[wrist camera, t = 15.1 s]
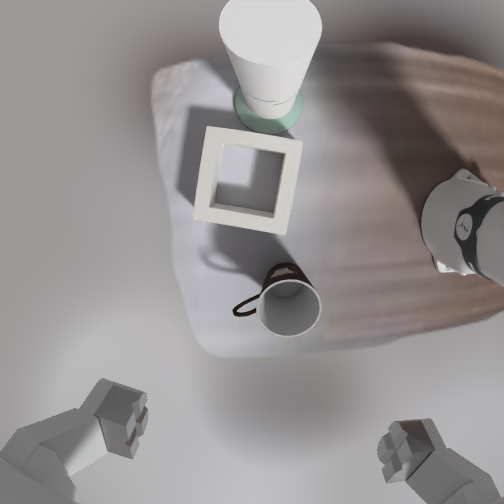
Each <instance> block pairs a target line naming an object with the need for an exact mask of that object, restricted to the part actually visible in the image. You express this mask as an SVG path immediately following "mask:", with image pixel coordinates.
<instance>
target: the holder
mask: <svg viewBox="0 0 504 504" xmlns="http://www.w3.org/2000/svg"><path fill="white" fill-rule="evenodd" d="M224 145H231V146H238V147H244V148H251V149H257V150H263V151H268V152H274V153H279V154H284V157H283V163H282V168H281V174H280V179H279V185H278V190H277V195H276V201H275V206H274V212H273V213H271V212H266V211H260V210H255V209H249V208H243V207H237V206H231V205H225V204H219V203H215V198H216V191H217V185H218V178H219V172H220V166H221V160H222V154H223V148H224ZM302 148H303V141H298V140H293V139H288V138H283V137H278V136H272V135H266V134H260V133H254V132H248V131H241V130H235V129H227V128H220V127H212V126H207V128H206V133H205V139H204V145H203V151H202V157H201V163H200V170H199V176H198V183H197V190H196V197H195V204H194V212H193V219H194V220H200V221H206V222H212V223H218V224H224V225H230V226H235V227H241V228H247V229H252V230H258V231H263V232H269V233H275V234H280V235H285V236H286V231H287V226H288V221H289V216H290V211H291V206H292V201H293V196H294V191H295V185H296V180H297V175H298V169H299V164H300V159H301V153H302Z"/></svg>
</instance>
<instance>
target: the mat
mask: <svg viewBox="0 0 504 504" xmlns="http://www.w3.org/2000/svg"><path fill="white" fill-rule="evenodd" d="M235 107H236V111H237V114H238V116H239V118H240V119H241V121H242V122H243V123H244V124H245V125H246V126H247V127H248V128H250V129H251V130H253V131H255V132H258V133H261V134H278V133H282V132H284V131H286V130H288V129H289V128H291V127H292V126H293V125H294V124H295V123H296V122H297V121H298V119H299V117H300V116H301V113H302V110H303V97H302V94H301V91H300V89H299V91H298V94H297V96H296V99H295V101H294V104H293V106H292V108H291V109H290V111H289V112H288V113H287V114H285V115H284V116H282V117H280V118H277V119H265V118H261V117H259V116H257V115H255V114H254V113H253V112H252V111H251V110H250V108H249V107H248V105H247V102H246V100H245V97H244V94H243V92H242V89H241V86H240V87H239V89H238V91H237V93H236V97H235Z"/></svg>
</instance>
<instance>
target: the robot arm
mask: <svg viewBox="0 0 504 504" xmlns="http://www.w3.org/2000/svg"><path fill="white" fill-rule="evenodd" d="M467 178H469V179H467ZM421 229H422V235H423V239H424V242H425V244H426V246H427V248H428V249H429V251H430V252H431V254H432V255H433V258H434V264H435V267H436V269H437V270H438V271H439V272H458V273H460V274H461V275H466V274H474V273H476V274H477V275H479V276H480V277H482V278H485V279H487V280H494V281H495V282H497V283H498V284H500V285H501V286H503V287H504V192H502V191H499V190H497V191H496V188H495V187H493V186H491V185H490V186H488V184H486V183H483V182H482V181H481V180H480V179H478V178H477V177H476V176H474V175H473V174H472V173H470V172H469V171H468V170H466V169H460V170H458V171H457V172H456V174H455V175H454V176H453V177H452V178H451V179H449V180H447V181H444V182H442V183H441V184H439V185H438V186H437V187H436V188H435V189H434V190H433V191H432V192H431V193H430V195H429V196H428V198H427V200H426V202H425V205H424V208H423V212H422V219H421ZM146 401H147V396H146V393H145V392H143V391H140V390H137V389H134V388H131V387H128V386H125V385H122V384H119V383H115V382H113V381H110V380H107V379H104V378H102V379H100V380H99V381H98V382H97V384H96V385H95V387H94V388H93V389H92V391H91V392H90V394H89V395H88V397H87V398H86V400H85V401H84V402H83V404H82V405H81V407H80V408H79V409H76V408H74V409H71V410H69V411H66V412H64V413H61V414H58V415H56V416H53V417H50V418H47V419H45V420H42V421H39V422H37V423H34V424H31V425H28V426H25V427H22V428H20V429H17V431H16V432H15V433H14V434H13V436H12V437H11V439H10V440H9V441H8V442H7V444H6V445H5V446H4V448H3V449H2V450H1V452H0V504H79V503H77V502H75V501H74V499H75V497H76V495H77V493H78V492H77V489H76V487H75V486H74V484H73V483H72V481H71V480H70V478H69V476H71V475H72V474H74V473H76V472H78V471H79V470H81V469H83V468H84V467H86V466H88V465H89V464H91V463H92V462H94V461H96V460H97V459H99V458H100V457H102V456H103V455H105V454H107V453H108V452H111V453H114V454H118V455H120V456H124V457H127V458H130V459H133V457H134V455H135V453H136V450H137V448H138V446H139V442H138V437H139V436H141V435H143V434H144V431H145V428H146V425H147V420H148V409H147V408H146V407H145V403H146ZM388 429H389V433H387V434H386V435H384V436H383V437H382V439H381V440H380V442H379V444H378V449H377V451H378V457H379V460H380V461H381V462H382V463H383V464H384V466H383V468H382V471H383V475H384V478H385V481H386V483H393V482H401V481H406V483H407V484H408V485H409V486H410V487H411V488H412V489H413V490H414V491H415V492H416V493H417V494H418V495H419V496H420V497H421V498H422V499H423V500H424V501H425V502H426V503H427V504H504V497H502V498H501V496H500V494H499V492H498V490H497V488H496V486H495V484H494V482H493V480H492V478H491V476H490V475H489V474H488V473H486V472H484V471H483V470H481V469H480V468H478V467H477V466H475V465H474V464H472V463H471V462H469V461H468V460H466V459H465V458H464V457H462V456H461V455H459V454H458V453H456V452H454V451H453V450H452V449H450V448H448V449H447V448H446V446H445V444H444V442H443V440H442V438H441V436H440V434H439V432H438V430H437V428H436V426H435V425H434V422H433V421H432V420H431V419H418V420H405V421H394V422H393V423H392V424H391V425H390V427H389V428H388Z"/></svg>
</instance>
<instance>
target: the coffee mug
mask: <svg viewBox="0 0 504 504" xmlns="http://www.w3.org/2000/svg"><path fill="white" fill-rule="evenodd" d="M257 298H259V299H258V302H257V307H256V308H255V309H253V310H251V311H248V312H243V313H240V312H237V310H238V309H239V308H241V307H242V306H243V305H245V304H247V303H249V302H251V301H253V300H255V299H257ZM321 310H322V304H321V300H320V297H319V295H318V293H317V291H316V290H315V289H314V287H313V286H312V284H311V283H310V281H309V280H308V279H307V277H306V276H305V274H304V273H303V272H302V270H301V269H300V268H299V267H298V266H296V265H294V264H291V263H280V264H277V265H276V266H274V267H273V268H271V269H270V271H269V272H268V274H267V276H266V279H265V282H264V285H263V288H262V290H261V293H260V294H258V295H256V296H254V297H252V298H249V299H247V300H245V301H243V302H242V303H240V304H238V305H237V306H236V307H234V309H233V314H234V316H238V317H243V316H249V315H251V314H254V313H256V312H257V317H258V320H259V322H260V324H261V325H262V326H263V327H264V328H265V329H266V330H267V331H268V332H270V333H271V334H273V335H276V336H279V337H289V338H290V337H296V336H300V335H302V334H304V333H306V332H308V331H309V330H310V329H312V328H313V327H314V326H315V325H316V323H317V322H318V320H319V318H320V315H321Z"/></svg>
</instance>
